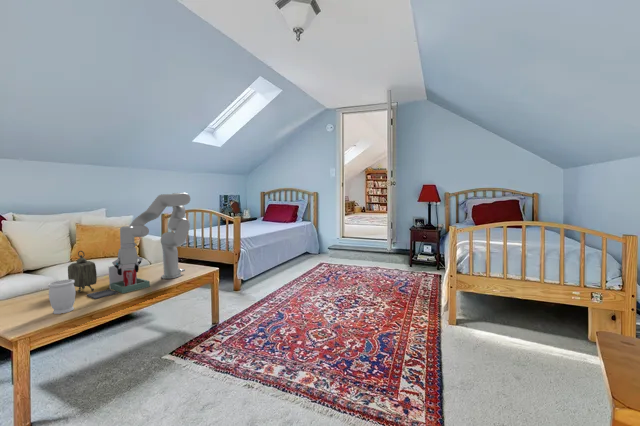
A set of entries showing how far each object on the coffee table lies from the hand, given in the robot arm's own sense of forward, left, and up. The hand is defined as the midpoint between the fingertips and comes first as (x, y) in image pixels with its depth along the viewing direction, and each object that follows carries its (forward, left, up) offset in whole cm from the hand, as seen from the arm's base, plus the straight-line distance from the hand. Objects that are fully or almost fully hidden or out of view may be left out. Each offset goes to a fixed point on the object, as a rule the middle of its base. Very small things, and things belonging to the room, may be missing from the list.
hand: (128, 273), depth 197 cm
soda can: (-1, 0, -10) cm, 10 cm away
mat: (+15, 0, -9) cm, 17 cm away
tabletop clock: (+18, -18, -10) cm, 27 cm away
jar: (+37, +13, -10) cm, 41 cm away
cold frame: (-1, 0, -9) cm, 9 cm away
